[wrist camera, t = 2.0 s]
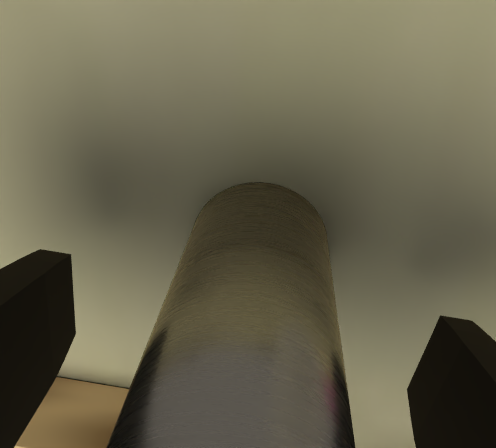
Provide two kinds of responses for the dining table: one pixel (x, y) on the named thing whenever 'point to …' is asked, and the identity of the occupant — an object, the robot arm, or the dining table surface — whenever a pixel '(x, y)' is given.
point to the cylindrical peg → (244, 335)
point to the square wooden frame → (74, 416)
